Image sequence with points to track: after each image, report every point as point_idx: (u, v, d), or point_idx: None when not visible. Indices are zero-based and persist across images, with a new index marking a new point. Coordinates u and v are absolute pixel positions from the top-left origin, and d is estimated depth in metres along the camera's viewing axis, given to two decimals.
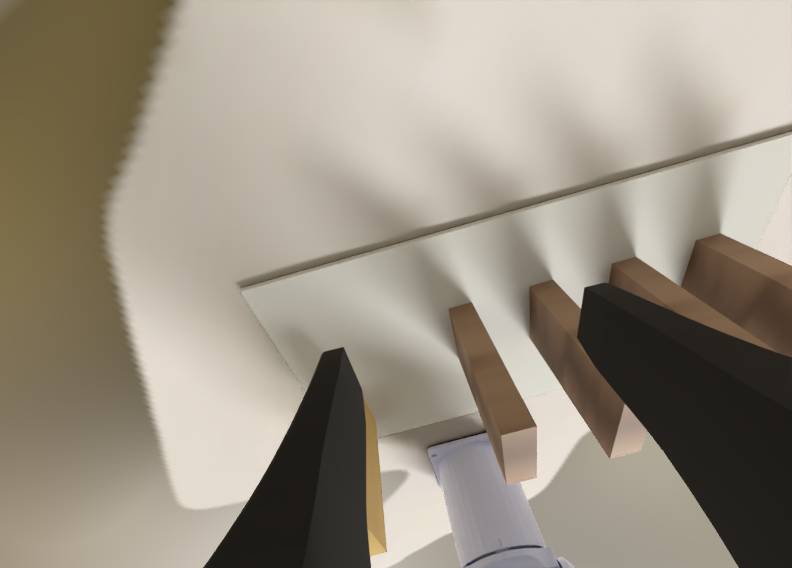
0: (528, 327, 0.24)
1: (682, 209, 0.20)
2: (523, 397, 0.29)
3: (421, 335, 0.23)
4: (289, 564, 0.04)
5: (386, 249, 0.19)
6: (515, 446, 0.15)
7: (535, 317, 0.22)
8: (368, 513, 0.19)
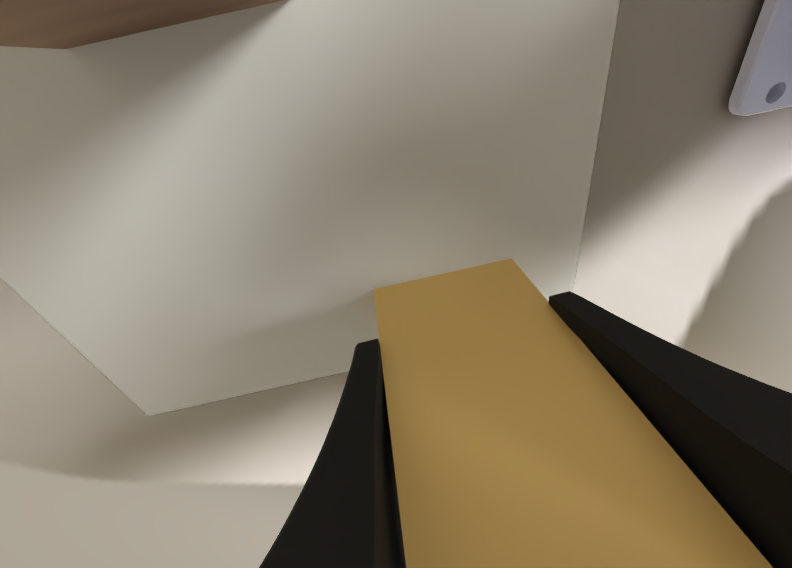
0: None
1: None
2: None
3: (198, 139, 0.08)
4: (360, 547, 0.04)
5: None
6: None
7: None
8: None
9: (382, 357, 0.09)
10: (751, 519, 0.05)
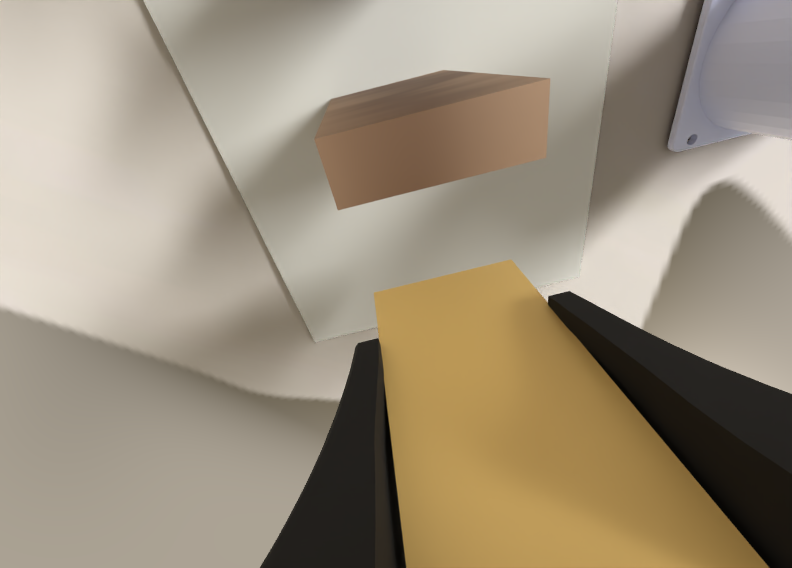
0: None
1: None
2: None
3: None
4: (361, 547, 0.04)
5: (254, 221, 0.17)
6: (383, 171, 0.07)
7: None
8: None
9: None
10: (750, 519, 0.05)
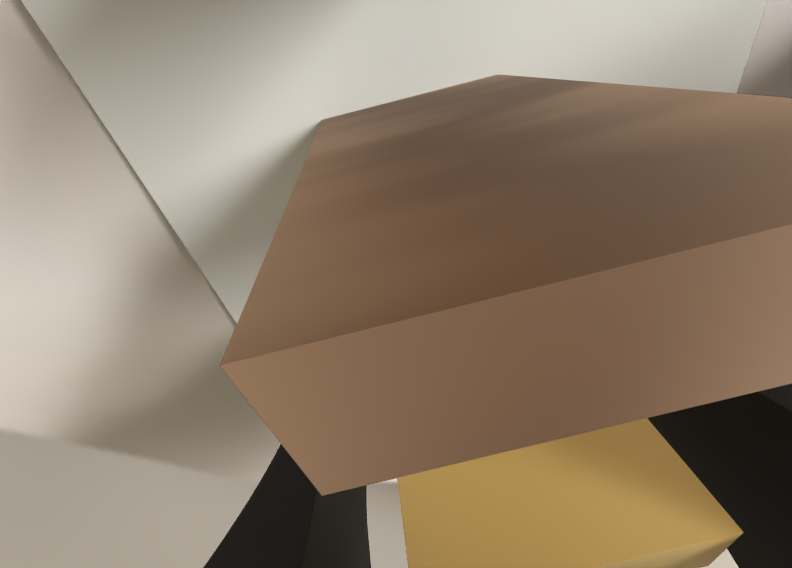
0: None
1: None
2: None
3: None
4: (289, 564, 0.04)
5: (215, 289, 0.12)
6: (467, 416, 0.02)
7: None
8: (481, 520, 0.06)
9: None
10: None
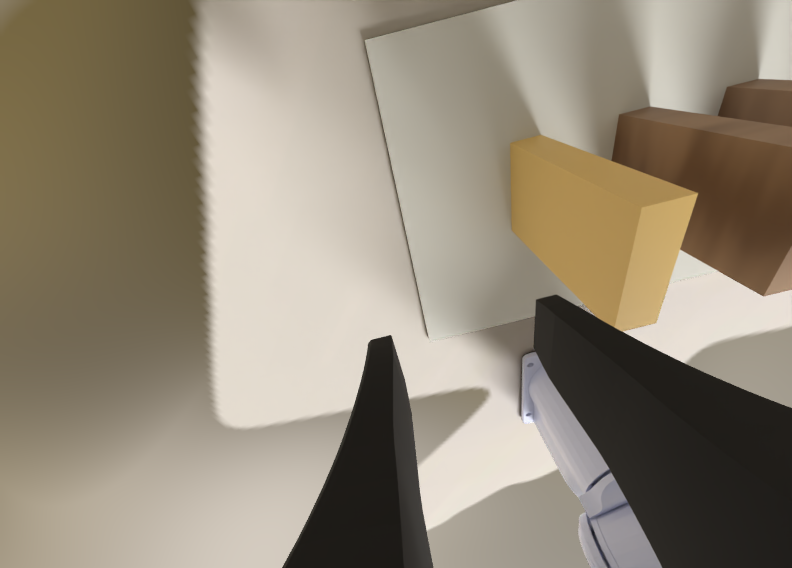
0: None
1: None
2: None
3: None
4: (388, 541, 0.04)
5: None
6: None
7: None
8: None
9: (578, 149, 0.14)
10: (726, 525, 0.05)
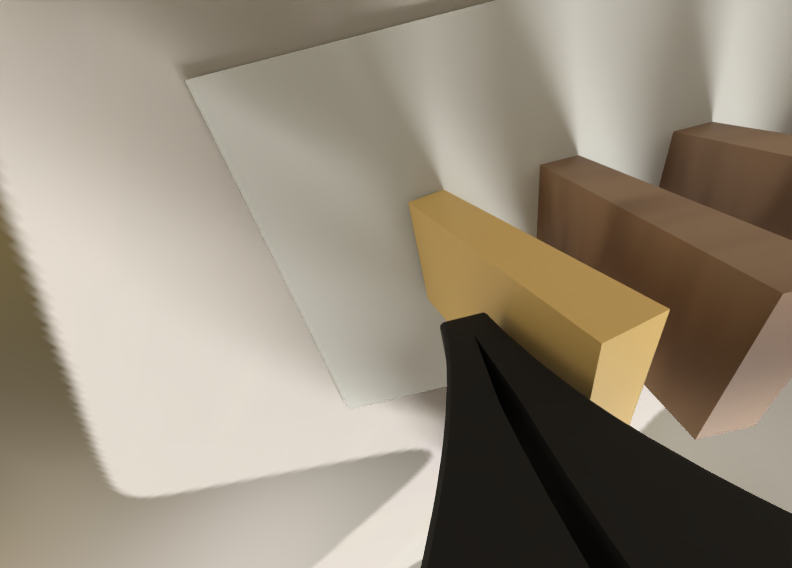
0: None
1: None
2: None
3: None
4: (538, 505, 0.04)
5: (459, 9, 0.10)
6: (783, 335, 0.07)
7: (675, 188, 0.14)
8: None
9: (490, 214, 0.11)
10: (585, 557, 0.05)
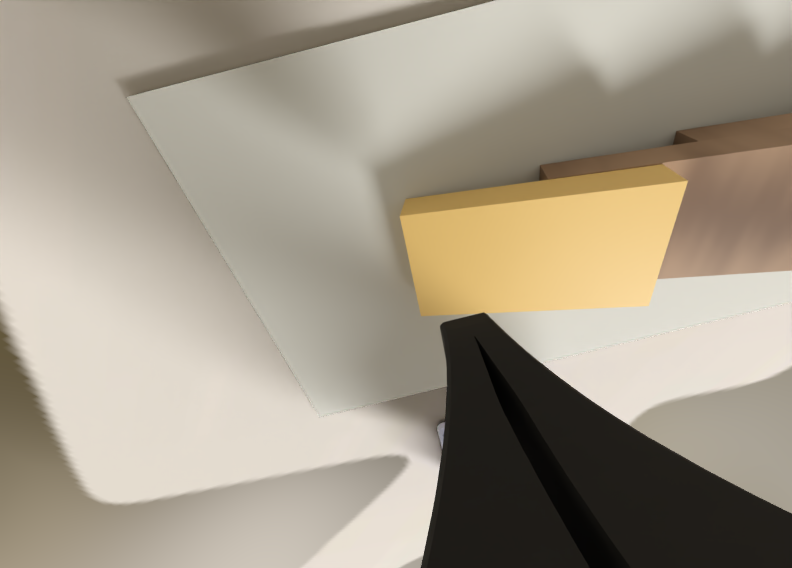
0: None
1: None
2: (577, 351, 0.20)
3: None
4: (539, 506, 0.04)
5: (398, 26, 0.10)
6: None
7: None
8: None
9: (487, 188, 0.13)
10: (585, 558, 0.05)
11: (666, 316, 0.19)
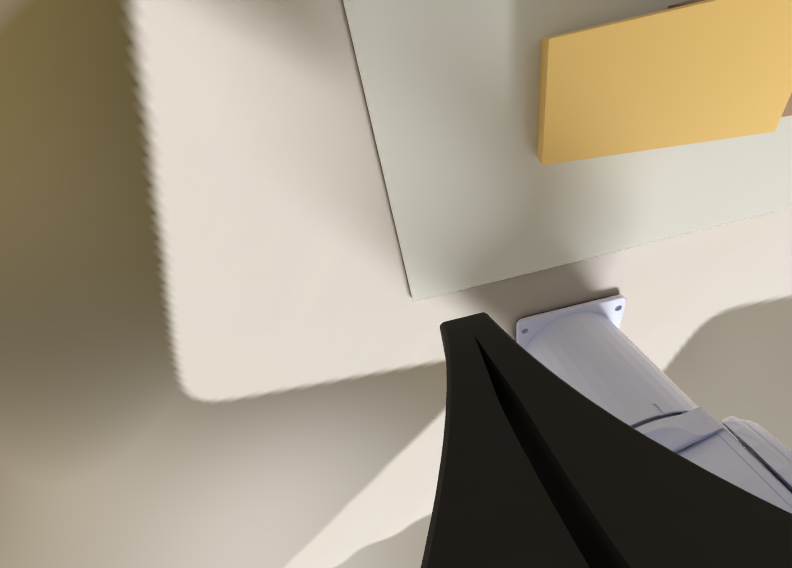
0: None
1: None
2: (662, 235, 0.21)
3: None
4: (538, 505, 0.04)
5: None
6: None
7: None
8: None
9: (626, 19, 0.14)
10: (586, 557, 0.05)
11: (750, 198, 0.20)
